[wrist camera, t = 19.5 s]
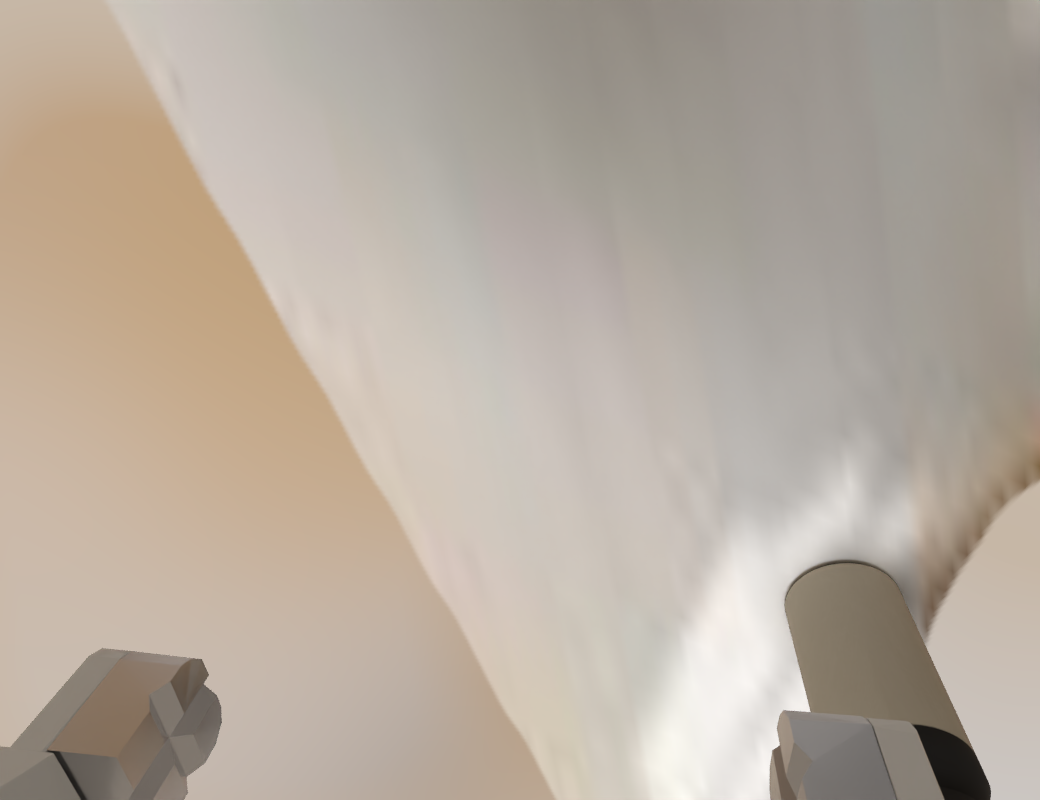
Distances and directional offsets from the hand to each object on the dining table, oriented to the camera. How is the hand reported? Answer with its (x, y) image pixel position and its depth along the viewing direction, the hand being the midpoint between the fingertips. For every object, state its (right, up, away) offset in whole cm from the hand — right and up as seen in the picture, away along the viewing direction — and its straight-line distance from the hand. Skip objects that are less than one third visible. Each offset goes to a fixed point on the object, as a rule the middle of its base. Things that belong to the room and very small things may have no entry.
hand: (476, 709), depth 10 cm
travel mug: (+24, -10, +41) cm, 49 cm away
